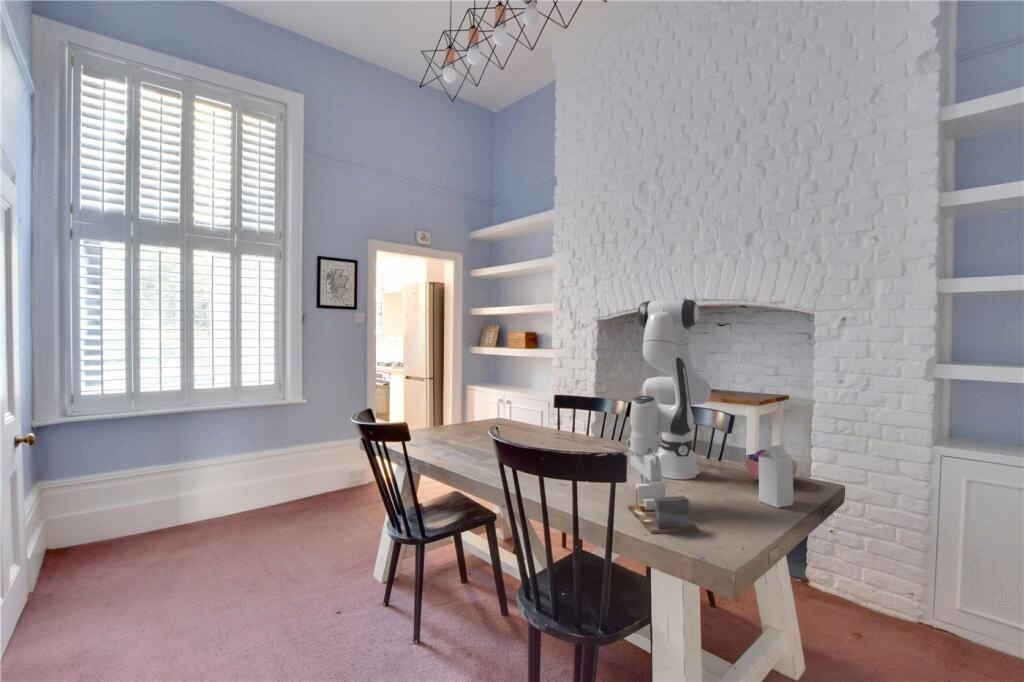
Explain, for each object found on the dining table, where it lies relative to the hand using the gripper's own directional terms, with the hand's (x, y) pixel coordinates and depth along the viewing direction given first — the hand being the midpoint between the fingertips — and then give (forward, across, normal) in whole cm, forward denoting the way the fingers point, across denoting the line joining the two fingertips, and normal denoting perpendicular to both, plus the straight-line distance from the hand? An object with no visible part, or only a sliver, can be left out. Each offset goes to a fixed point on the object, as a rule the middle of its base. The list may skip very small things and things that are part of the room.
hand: (645, 487), depth 159 cm
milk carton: (+6, -5, -42) cm, 43 cm away
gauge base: (+6, -12, 0) cm, 14 cm away
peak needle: (+4, -8, +5) cm, 10 cm away
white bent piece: (+4, -8, 0) cm, 9 cm away
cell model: (+6, +16, -54) cm, 57 cm away
